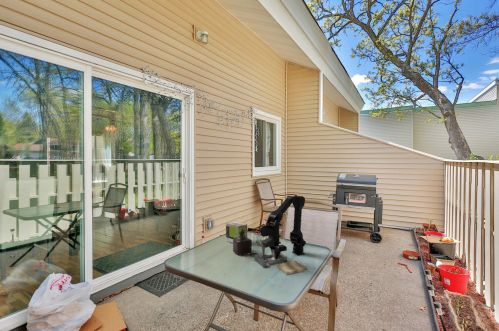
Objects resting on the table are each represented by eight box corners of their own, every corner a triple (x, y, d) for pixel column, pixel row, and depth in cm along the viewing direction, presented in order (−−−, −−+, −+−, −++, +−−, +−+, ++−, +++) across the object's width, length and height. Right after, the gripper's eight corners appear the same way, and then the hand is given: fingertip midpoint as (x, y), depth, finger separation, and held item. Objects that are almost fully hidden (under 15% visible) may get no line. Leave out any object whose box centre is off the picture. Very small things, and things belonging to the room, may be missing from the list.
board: (295, 262, 159) (295, 260, 159) (307, 269, 148) (307, 267, 148) (275, 266, 153) (275, 264, 153) (286, 274, 142) (286, 272, 142)
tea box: (247, 242, 199) (247, 223, 199) (238, 245, 192) (238, 226, 191) (234, 238, 209) (234, 220, 209) (225, 241, 202) (225, 223, 202)
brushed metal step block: (276, 260, 162) (275, 248, 162) (278, 262, 159) (278, 249, 159) (266, 262, 159) (266, 250, 159) (268, 264, 156) (268, 251, 156)
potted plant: (231, 251, 180) (231, 226, 180) (245, 248, 185) (245, 224, 185) (240, 258, 166) (240, 231, 166) (255, 255, 171) (255, 229, 171)
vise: (277, 256, 170) (277, 250, 170) (287, 262, 159) (287, 257, 159) (254, 260, 163) (254, 255, 163) (263, 267, 152) (263, 261, 152)
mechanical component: (270, 256, 170) (270, 241, 169) (255, 255, 172) (255, 240, 172) (271, 254, 173) (271, 240, 172) (256, 253, 175) (256, 239, 174)
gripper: (256, 231, 165) (257, 255, 165) (271, 239, 148) (271, 266, 148) (271, 229, 169) (272, 252, 170) (287, 236, 152) (287, 262, 153)
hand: (275, 258), depth 160 cm, fingers closed on brushed metal step block, 3 cm apart
